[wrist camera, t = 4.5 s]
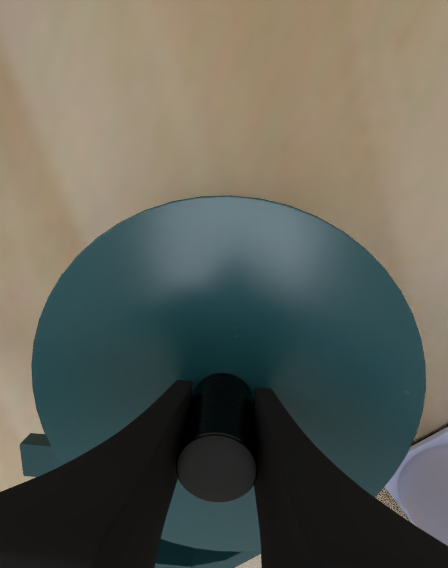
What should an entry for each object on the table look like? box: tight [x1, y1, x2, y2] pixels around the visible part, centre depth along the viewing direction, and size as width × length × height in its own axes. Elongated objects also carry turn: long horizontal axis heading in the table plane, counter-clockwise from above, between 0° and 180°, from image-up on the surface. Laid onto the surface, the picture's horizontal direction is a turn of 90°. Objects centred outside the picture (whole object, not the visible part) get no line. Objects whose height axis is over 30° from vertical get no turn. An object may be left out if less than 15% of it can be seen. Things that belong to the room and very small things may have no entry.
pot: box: [20, 433, 261, 568], centre depth 20 cm, size 15×20×6 cm
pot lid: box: [32, 196, 426, 552], centre depth 10 cm, size 16×16×4 cm
